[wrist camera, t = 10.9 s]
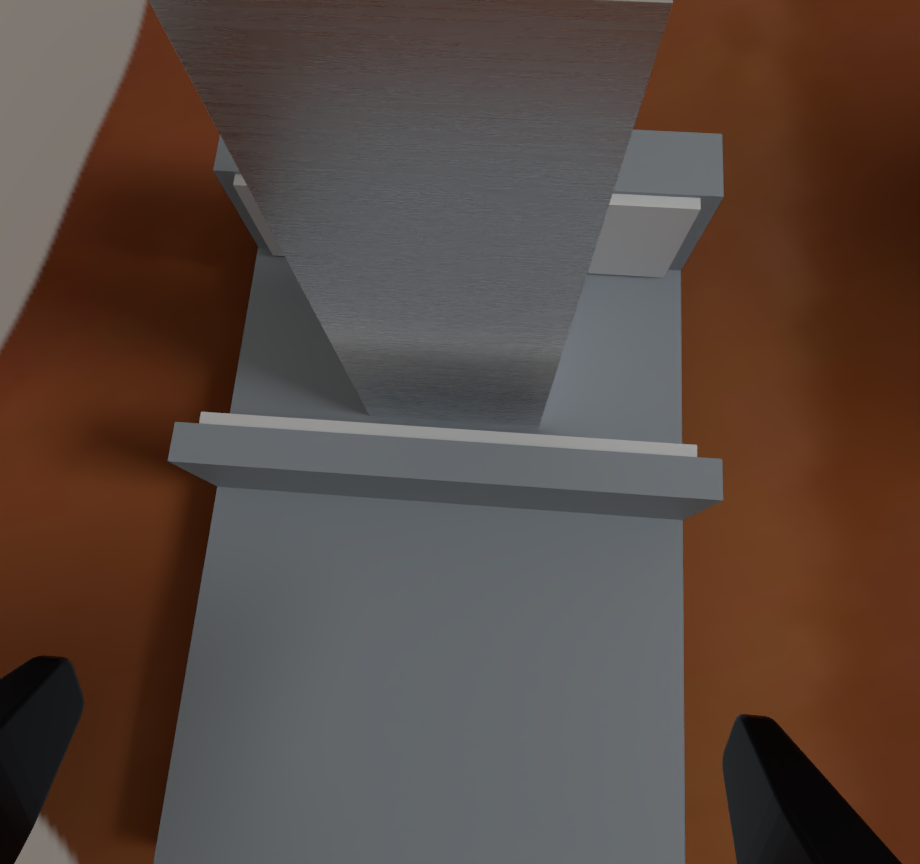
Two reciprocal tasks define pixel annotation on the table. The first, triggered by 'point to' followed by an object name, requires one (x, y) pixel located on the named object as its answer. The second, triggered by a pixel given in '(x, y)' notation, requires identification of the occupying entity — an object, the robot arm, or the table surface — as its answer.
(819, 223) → the table surface
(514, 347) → the aluminium bar
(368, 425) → the vise
